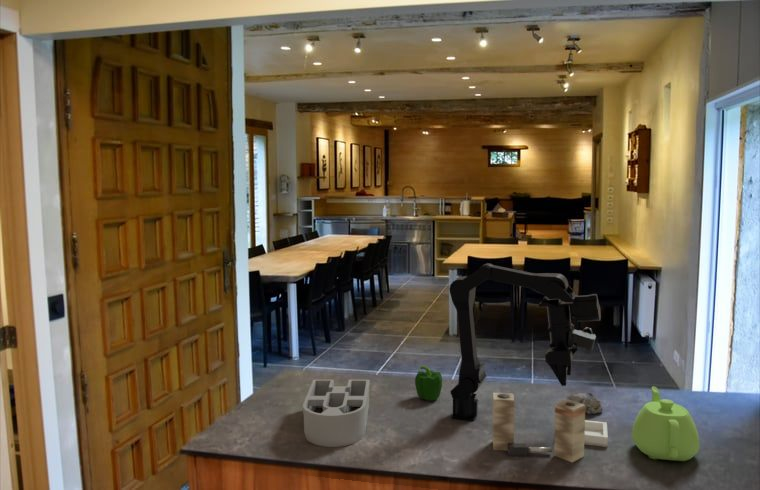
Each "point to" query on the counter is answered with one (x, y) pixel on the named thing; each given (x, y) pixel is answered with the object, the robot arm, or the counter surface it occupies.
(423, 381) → the bell pepper
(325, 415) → the grey compartment organizer
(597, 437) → the tray
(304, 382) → the counter surface
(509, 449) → the pin gauge
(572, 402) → the block
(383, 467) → the counter surface
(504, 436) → the block
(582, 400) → the mineral specimen
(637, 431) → the teapot
